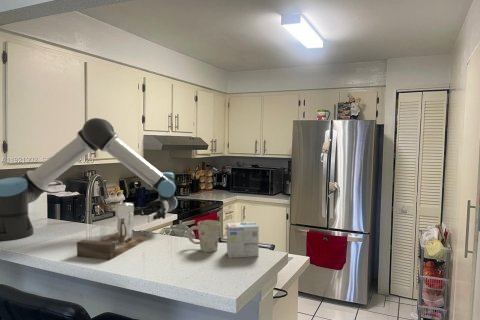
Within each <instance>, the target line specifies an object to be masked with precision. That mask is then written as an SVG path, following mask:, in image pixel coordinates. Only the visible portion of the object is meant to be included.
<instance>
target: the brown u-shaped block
mask: <svg viewBox="0 0 480 320" xmlns="http://www.w3.org/2000/svg"><path fill="white" fill-rule="evenodd" d="M117 240H118V232H116V233H114V234H111V235H108V236H107V237H105V238H102V239H100V240H90V239H81V240H77V241H76V256H77V258H78V257H80V258H90V259H99V260H100V259H101V260H110V261H111V260H113V259H115V258H116V257H118V256H120V255H122V254H123V253H125V252H127V251H128V250H131V249H132V248H134V247H136V246H138V245H140V244H142V243H144V242H146V241H147V234H142V235H139V236H137V237H135V238H133V240H132V241H130V242H128V243H126V244H121V245H120V246H118V247H116V245H117V244H116V242H117ZM141 242H142V243H141ZM139 243H140V244H139ZM137 244H138V245H137Z"/></svg>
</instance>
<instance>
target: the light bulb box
mask: <svg viewBox="0 0 480 320" xmlns="http://www.w3.org/2000/svg"><path fill="white" fill-rule="evenodd" d="M259 227H260V226H259V225H258V224H257V223H256V222H255V221H253V222H251V221H250V222H248V221H247V222H232V223H231V222H230V223H229V222H226V253H227V256H228V258H229V259H230V258H231V259H232V258H247V257H248V258H249V257H250V258H251V257H259V254H260V253H259V250H260V249H259V248H260V247H259V246H260V244H259V242H260V241H259V237H260V236H259V232H260V231H259Z"/></svg>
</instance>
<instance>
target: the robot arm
mask: <svg viewBox="0 0 480 320" xmlns="http://www.w3.org/2000/svg"><path fill="white" fill-rule="evenodd" d="M76 133H77V134H76V137H75V138H74V139H72V141H70V142H69V143H68V144H67V145H65V146H64V147H62V148H61V149H59V150H58V151H57V152H56V153H55V154H54V155H52V156H51V157H50V158H49V159H47V160H46V161H44V162H43V163H42V164H41V165H40V166H38V167H36V168H35V169H34V170H27V171H25V172H24V173H23V174H22V175H20V176H19V177H6V178H1V179H0V241H11V240H17V239H18V240H19V239H24V238H26V237H29V236H32V235H33V234H34V226H33V224H32V221H31V218H30V215H29V204H31V203H34V202H35V201H37V200H38V199H39V197H41V195H43V194H44V193H45V192H46V191H47V190H48V188H49V185H50V184H51V183H52V182H54V181H55V180H56V179H57V178H59V177H60V176H61V175H62V174H63V173H64V172H66V171H68V169H71V167H73V166H74V165H75V164H77V162H79V161H80V160H81V159H82V158H84V157H85V156H86V155H88V154H89V153H90V152H94V153H96V152H98V150H100V151H101V152H106V153H108V154H109V155H111V157H113V158H115V160H117V161H118V162H119V163H121V164H122V165H123V166H125V168H127V169H128V170H130V171H131V172H132V173H134V174H135V176H137V177H138V178H140V179H141V180H142V181H144V182H145V183H147V184H148V185H149V186H151V187H152V188H153V189H154V190H155V191H156V192H157V193H158V198H157V199H155V200H152V201H150V202H149V203H147V205H146V206H143V207H141V206H137V207H134V217H135V216H141V217H142V216H143V217H144V216H147V223H148V224H150V223H152V222H154V221H156V220H157V219H158V220H160V219H163V220H165V219H166V215H167V214H168V213H169V212H172V211H173V210H175V209H176V208H177V206H178V199H177V197H176V196H175V192H176V188H177V187H176V184H175V173H173V172H172V171H171V172H170V171H166V172H165V171H164V172H163V171H162V172H161V171H160V170H159V169H157V167H155V166H153V165H152V164H151V163H149V161H148V160H146V159H145V158H144V157H142V156H141V155H140V154H138V153H137V152H136V151H135V150H134V149H132V148H131V147H129V146H128V145H127V144H126V143H125V142H123V140H121V139H120V138H119V136H118V134H117V133H116V132H115V129H114V126H113V125H112V124H111V122H109V121H108V120H106V119H105V118H104V119H103V118H100V117H99V118H98V117H93V118H90V119H88V120H87V121H85V123H84V124H83V126H82V128H81V129H79V130H78V132H76Z"/></svg>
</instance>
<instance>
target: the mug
mask: <svg viewBox="0 0 480 320" xmlns="http://www.w3.org/2000/svg"><path fill="white" fill-rule="evenodd" d="M220 229H221V222H220V221H219V220H216V219H215V220H214V219H213V220H212V219H205V220H199V221H198V222H197V225H193V226H191V227H190V228H189V229H188V230H187V239H188V241H190V242H191V243H192V244H194V245H199V247H200V251H201V252H204V253H213V252H216V251H218V245H219V240H220V239H219V237H220ZM194 230H198V231H197V232H198V239H199V241H195V240H194V239H193V237H192V232H193V231H194Z"/></svg>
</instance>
